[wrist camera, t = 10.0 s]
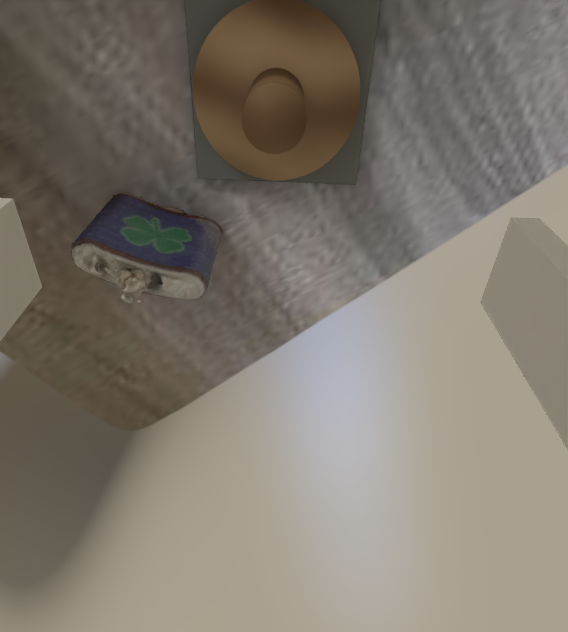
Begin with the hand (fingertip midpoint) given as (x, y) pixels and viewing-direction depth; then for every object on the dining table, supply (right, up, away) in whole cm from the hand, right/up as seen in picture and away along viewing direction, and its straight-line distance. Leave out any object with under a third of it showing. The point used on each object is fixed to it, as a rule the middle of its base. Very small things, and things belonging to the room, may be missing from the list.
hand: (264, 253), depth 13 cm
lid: (0, +13, +19) cm, 23 cm away
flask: (-9, +6, +25) cm, 28 cm away
